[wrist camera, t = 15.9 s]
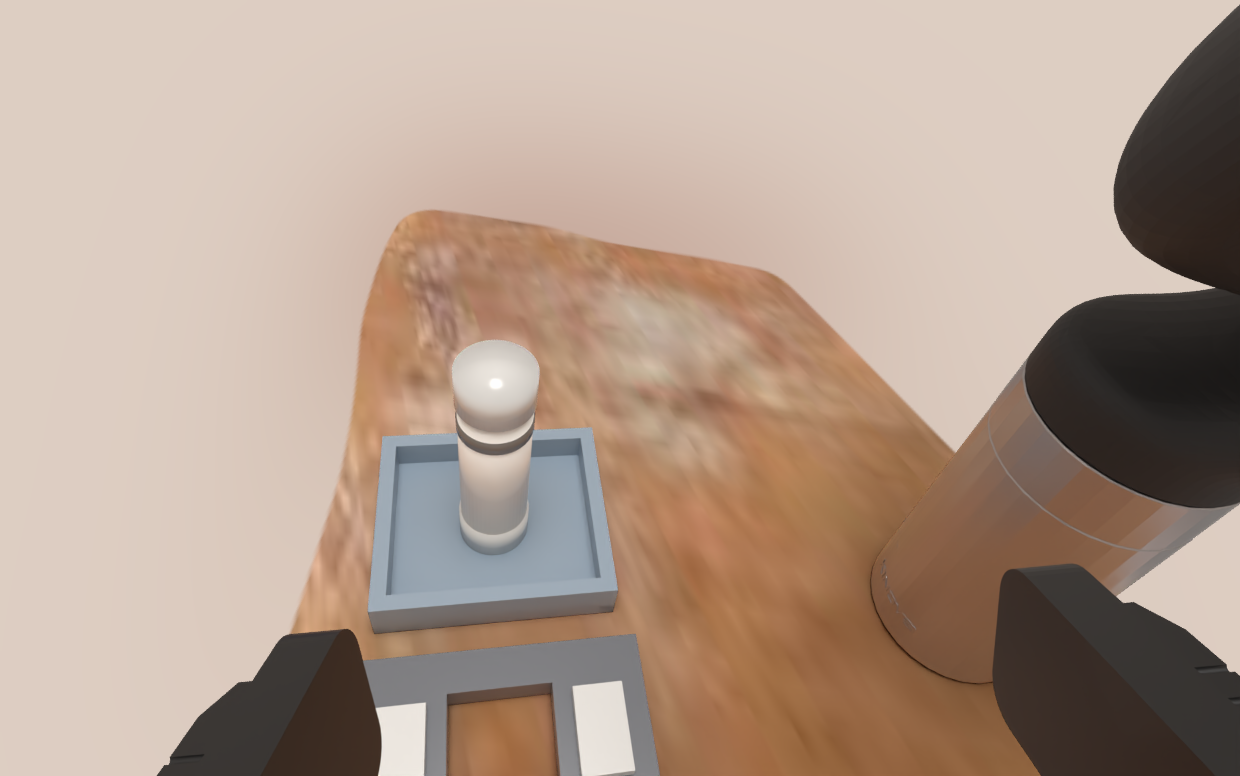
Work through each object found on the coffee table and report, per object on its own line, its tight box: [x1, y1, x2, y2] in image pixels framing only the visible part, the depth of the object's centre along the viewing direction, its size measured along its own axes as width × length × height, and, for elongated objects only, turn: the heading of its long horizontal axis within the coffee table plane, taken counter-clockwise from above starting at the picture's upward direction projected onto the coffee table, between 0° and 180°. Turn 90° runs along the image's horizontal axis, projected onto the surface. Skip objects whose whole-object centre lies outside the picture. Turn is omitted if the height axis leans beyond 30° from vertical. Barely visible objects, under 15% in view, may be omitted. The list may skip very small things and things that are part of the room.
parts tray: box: [368, 428, 618, 634], centre depth 41 cm, size 12×11×2 cm
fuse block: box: [363, 634, 660, 776], centre depth 33 cm, size 14×9×2 cm, turn 99°
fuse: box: [452, 340, 539, 555], centre depth 36 cm, size 4×4×13 cm
